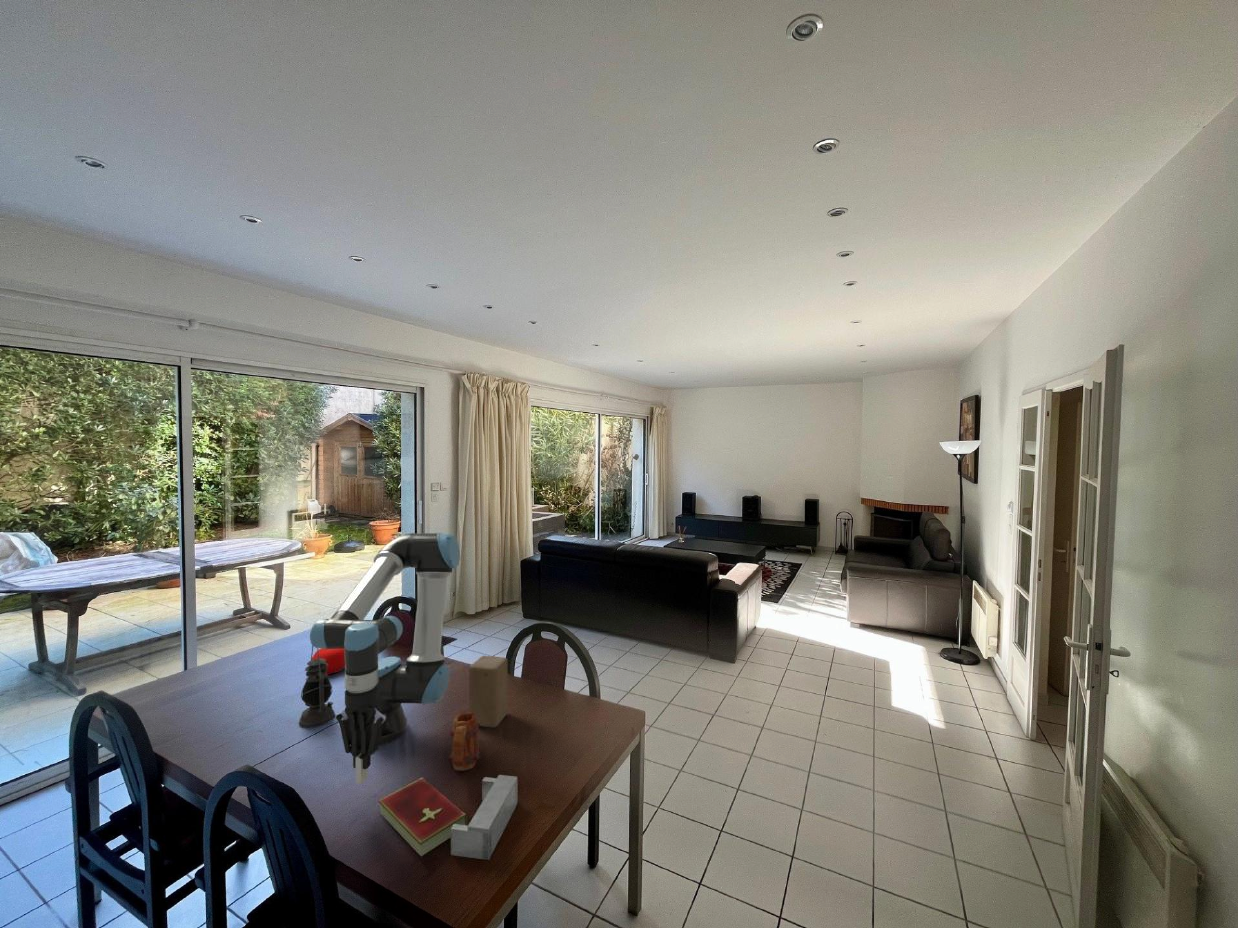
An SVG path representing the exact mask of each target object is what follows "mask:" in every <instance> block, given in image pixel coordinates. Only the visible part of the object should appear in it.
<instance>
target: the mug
mask: <svg viewBox="0 0 1238 928" xmlns="http://www.w3.org/2000/svg"><path fill="white" fill-rule="evenodd" d="M452 723H453V724H452V725H453V726H452V727H451V731H450V732H449V736H451V737H452V746H453V747H452V751H451V752H450V755H449V758H448V761H449V762H451V763H452V766H453V769H454V770H456V771H467V770H468V771H469V770H471V769H472V768H475V766H476V764H477V760H478V758H479V755H480V754H479V753H480V752H481V750H482V748H481V747H479V746H477V738H478V737H477V735H478V732H479V728H480V727H481V726H480V724H479V723H477V722H476V716H475V715H474V713H472V712H469V711H466V712H465V711H462V712H460V713H459V714H458V713H457V715H456V716H455V717H454V719H453V722H452Z"/></svg>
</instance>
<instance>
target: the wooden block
mask: <svg viewBox="0 0 1238 928" xmlns="http://www.w3.org/2000/svg"><path fill="white" fill-rule="evenodd" d="M468 674H469V675H468V680H469V681H468V683H469V685H468V689H469V690H468V692H469V693H468V696H469V697H468V698H469V700H468V701H469V703H468V704H469V711H468V712H472V713H474V715H475V716H476V722H477V723H479V724H480V726H479V727H486V728H497V727H498V726H499V724H500V723H501V722H502V721H503V720H504V718H505V717H506V716H507V715H508V712H509V711H508V709H509V706H508V705H509V701H508V700H509V699H508V698H509V697H508V695H509V693H508V690H509V689H508V688H509V687H508V684H509V683H508V678H509V677H508V658H507V657H501V656H490V655H482V656H480V657H479V658H478V659H477V660H475V662H473V663H472V664H470V665H469V668H468Z"/></svg>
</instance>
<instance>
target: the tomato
mask: <svg viewBox="0 0 1238 928" xmlns="http://www.w3.org/2000/svg"><path fill="white" fill-rule="evenodd" d="M318 652H319V658H323V659H326V662H325V663H327V664H328V667H327V672H326V673H325V674H327V675H330V674H336V673H338V672H340V671H342V670H343V669H345V649H323V648H318V651H317V650H316V651H315V653H318ZM315 653H314V654H312V660H314V659H315ZM316 659H318V655H317V654H316Z"/></svg>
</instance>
